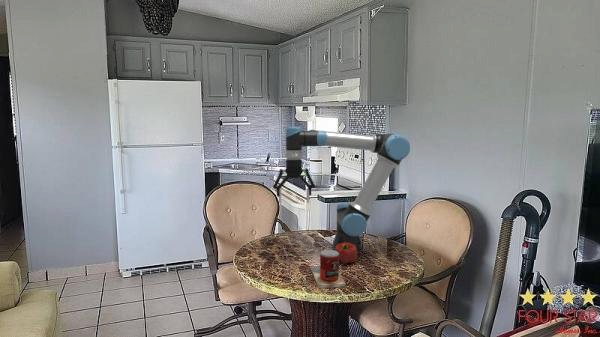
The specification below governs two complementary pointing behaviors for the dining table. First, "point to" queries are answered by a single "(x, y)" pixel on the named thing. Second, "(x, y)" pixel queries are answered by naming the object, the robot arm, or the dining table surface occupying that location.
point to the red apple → (346, 252)
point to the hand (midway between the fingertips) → (294, 202)
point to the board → (324, 284)
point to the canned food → (329, 265)
